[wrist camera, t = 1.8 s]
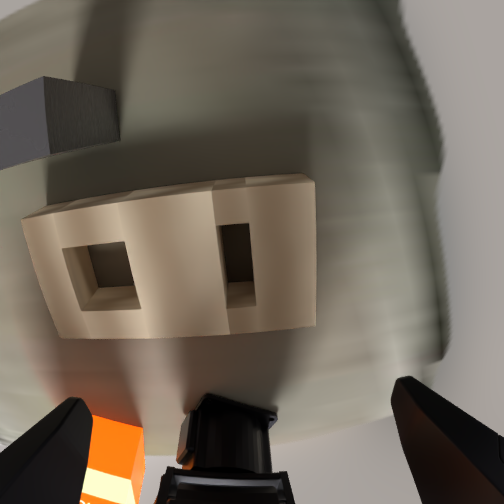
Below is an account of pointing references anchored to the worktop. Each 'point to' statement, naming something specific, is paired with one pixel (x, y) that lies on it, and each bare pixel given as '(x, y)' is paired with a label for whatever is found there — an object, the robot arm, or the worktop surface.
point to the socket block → (180, 259)
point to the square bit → (54, 119)
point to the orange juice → (114, 464)
